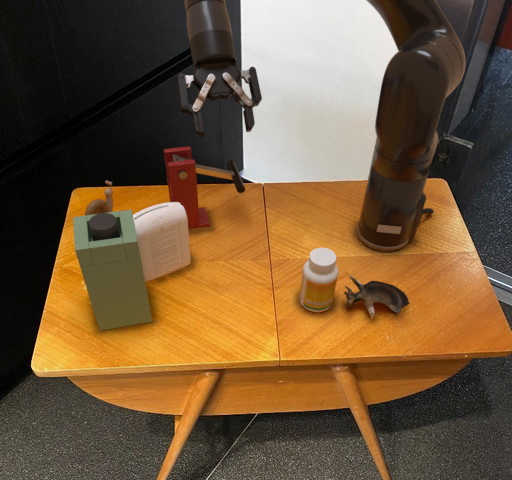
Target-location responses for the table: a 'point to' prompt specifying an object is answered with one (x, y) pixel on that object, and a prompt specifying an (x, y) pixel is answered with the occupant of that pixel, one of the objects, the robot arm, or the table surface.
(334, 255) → the supplement bottle
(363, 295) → the toy triceratops
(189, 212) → the red lever stand
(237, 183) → the wooden lever
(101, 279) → the box
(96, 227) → the button
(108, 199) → the snail figurine
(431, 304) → the table surface
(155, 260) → the photo printer
